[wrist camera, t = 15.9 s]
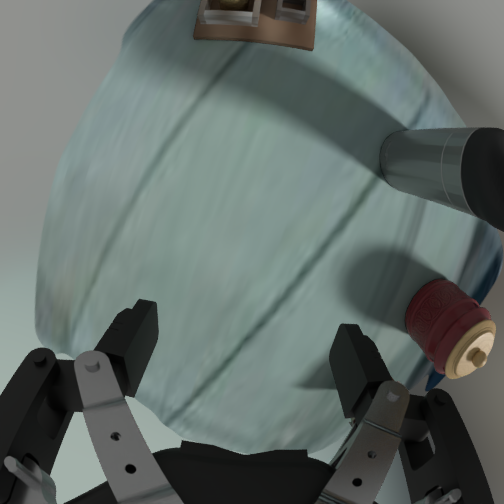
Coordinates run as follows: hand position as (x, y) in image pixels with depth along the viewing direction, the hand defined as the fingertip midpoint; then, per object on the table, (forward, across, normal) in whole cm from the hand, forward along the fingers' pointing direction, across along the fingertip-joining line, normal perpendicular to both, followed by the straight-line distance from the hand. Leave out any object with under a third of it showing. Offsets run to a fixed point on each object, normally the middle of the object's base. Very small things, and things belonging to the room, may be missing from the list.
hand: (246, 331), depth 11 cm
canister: (+27, -36, +14) cm, 47 cm away
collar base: (+28, +3, -28) cm, 40 cm away
